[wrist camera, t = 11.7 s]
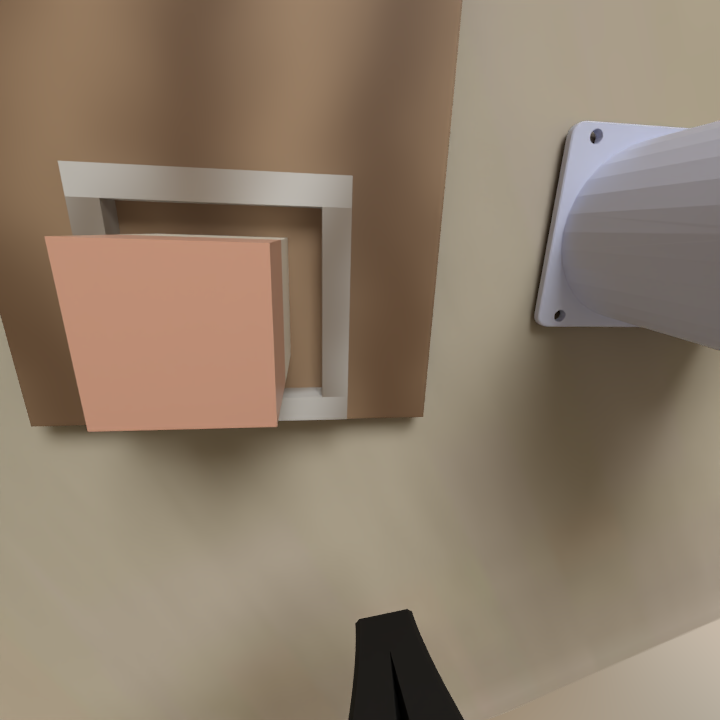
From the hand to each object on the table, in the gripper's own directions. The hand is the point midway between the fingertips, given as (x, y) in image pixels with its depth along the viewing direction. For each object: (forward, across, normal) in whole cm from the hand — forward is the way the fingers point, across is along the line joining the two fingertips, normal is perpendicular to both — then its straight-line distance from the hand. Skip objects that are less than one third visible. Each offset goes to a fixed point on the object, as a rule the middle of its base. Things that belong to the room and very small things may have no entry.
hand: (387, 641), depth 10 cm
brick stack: (+8, +4, -8) cm, 12 cm away
